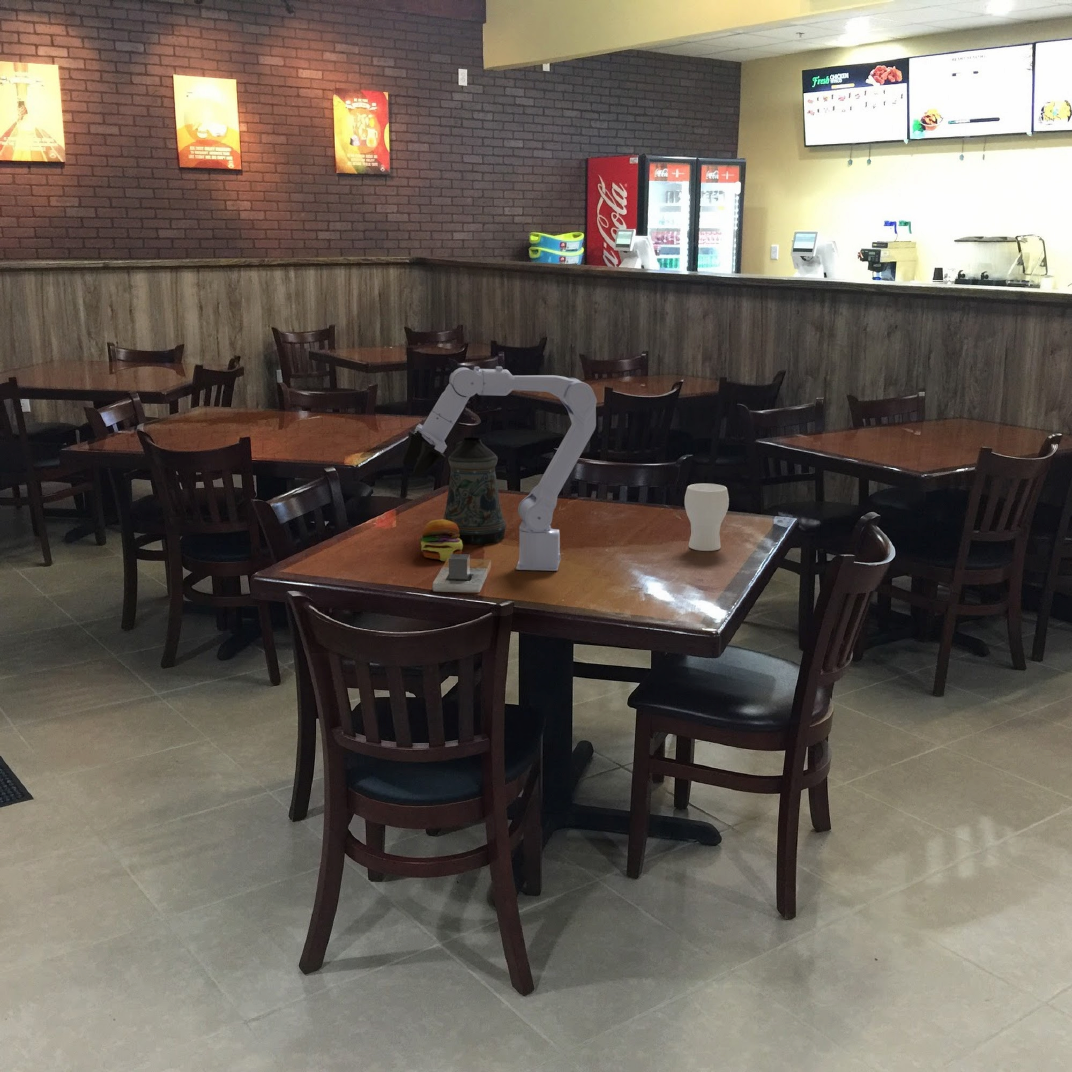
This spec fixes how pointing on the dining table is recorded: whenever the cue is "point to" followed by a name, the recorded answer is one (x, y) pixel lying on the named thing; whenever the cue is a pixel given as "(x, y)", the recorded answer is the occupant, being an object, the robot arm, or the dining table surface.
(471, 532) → the beer stein
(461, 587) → the grey flat rectangular block
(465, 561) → the block
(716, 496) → the cup
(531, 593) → the dining table surface
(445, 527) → the cheeseburger
